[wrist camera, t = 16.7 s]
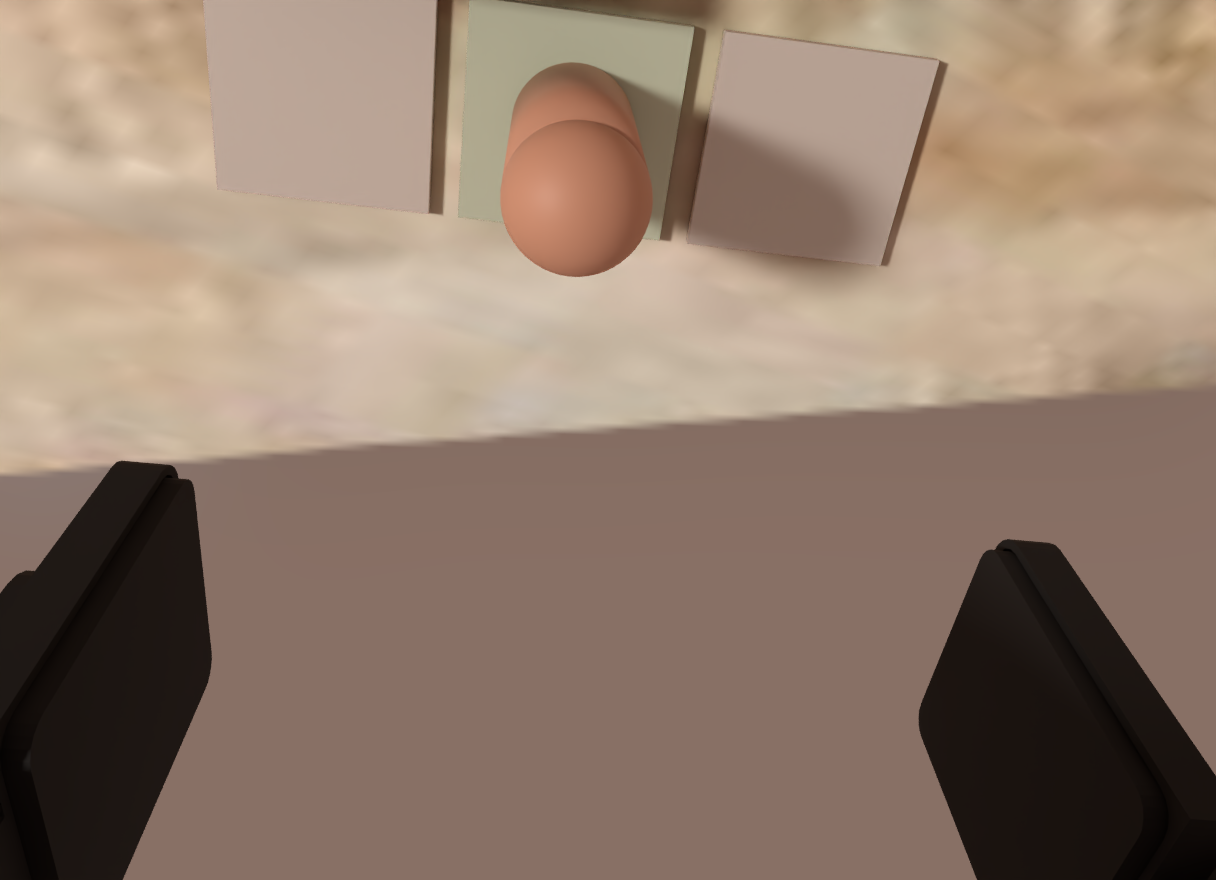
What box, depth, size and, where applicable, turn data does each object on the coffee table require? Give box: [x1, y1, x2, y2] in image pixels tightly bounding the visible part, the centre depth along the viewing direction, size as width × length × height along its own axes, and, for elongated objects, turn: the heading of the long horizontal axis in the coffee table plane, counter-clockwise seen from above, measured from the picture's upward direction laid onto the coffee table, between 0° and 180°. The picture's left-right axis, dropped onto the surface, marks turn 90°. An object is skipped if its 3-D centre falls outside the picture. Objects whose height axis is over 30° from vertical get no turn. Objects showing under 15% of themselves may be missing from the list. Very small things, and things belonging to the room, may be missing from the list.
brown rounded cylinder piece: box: [500, 62, 653, 277], centre depth 28 cm, size 4×4×10 cm
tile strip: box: [203, 0, 939, 266], centre depth 32 cm, size 23×7×1 cm, turn 83°
